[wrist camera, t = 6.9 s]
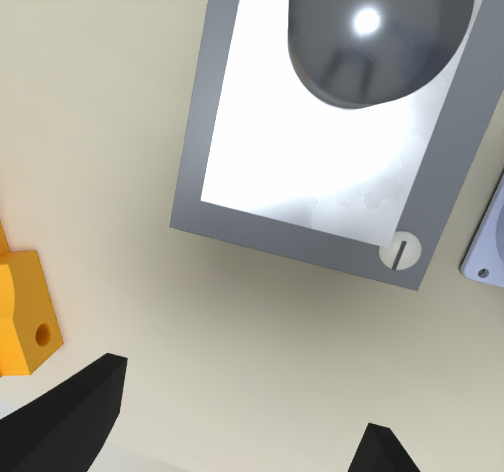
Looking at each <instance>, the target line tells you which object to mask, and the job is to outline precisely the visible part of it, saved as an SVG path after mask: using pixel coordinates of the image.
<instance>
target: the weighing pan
mask: <svg viewBox="0 0 504 472" xmlns="http://www.w3.org/2000/svg"><path fill="white" fill-rule="evenodd" d="M482 1H483V0H475V1H474V7H473V12H472V16H471V20H470V23H469V26H468V29H467V31H466V34H465V36H464V38H463V41H462V43H461V44H460V46H459V48H458V50H457V51H456V53H455V54H454V56H453V57H452V59H451V60H450V61H449V63H448V64H447V65H446V66H445V67H444V69H443V70H442V71H441V72H440V73H439V74H438V75H437V76H436V77H435V78H434V79H432V80H431V81H430V82H429V83H428V84H426V85H425V86H423V87H422V88H420V89H419V90H417V91H415V92H414V93H412V94H410V95H408V96H406V97H403V98H401V99H398V100H395V101H391V102H387V103H383V104H379V105H375V106H371V107H367V108H363V109H359V110H355V111H351V112H345V113H331V112H326V111H323V110H320V109H318V108H315V107H314V106H312V105H310V104H309V103H308V102H306V101H305V100H304V99H303V98H302V97H301V96H300V95H299V93H298V92H297V90H296V89H295V87H294V86H293V83H292V81H291V79H290V76H289V73H288V68H287V59H286V55H287V29H288V5H289V0H240V1H239V6H238V11H237V16H236V21H235V26H234V32H233V37H232V42H231V47H230V52H229V57H228V62H227V68H226V73H225V78H224V83H223V88H222V93H221V98H220V104H219V109H218V114H217V119H216V124H215V129H214V135H213V140H212V145H211V150H210V155H209V160H208V165H207V171H206V176H205V181H204V186H203V191H202V196H201V201H205V202H209V203H213V204H217V205H221V206H225V207H228V208H232V209H236V210H240V211H244V212H248V213H252V214H256V215H260V216H264V217H268V218H272V219H276V220H279V221H283V222H287V223H291V224H295V225H299V226H303V227H307V228H311V229H315V230H319V231H323V232H327V233H330V234H334V235H338V236H342V237H346V238H350V239H354V240H358V241H362V242H366V243H370V244H374V245H378V246H381V247H385V248H389V245H390V243H391V240H392V238H393V235H394V232H395V230H396V227H397V224H398V222H399V219H400V216H401V214H402V211H403V209H404V206H405V203H406V201H407V198H408V195H409V193H410V190H411V187H412V185H413V182H414V180H415V177H416V174H417V172H418V169H419V166H420V164H421V161H422V159H423V156H424V153H425V151H426V148H427V145H428V143H429V140H430V137H431V135H432V132H433V130H434V127H435V124H436V122H437V119H438V116H439V114H440V111H441V109H442V106H443V103H444V101H445V98H446V95H447V93H448V90H449V87H450V85H451V82H452V80H453V77H454V74H455V72H456V69H457V66H458V64H459V61H460V58H461V56H462V53H463V51H464V48H465V45H466V43H467V40H468V37H469V35H470V32H471V30H472V27H473V24H474V22H475V19H476V16H477V14H478V11H479V8H480V6H481V3H482Z"/></svg>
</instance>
